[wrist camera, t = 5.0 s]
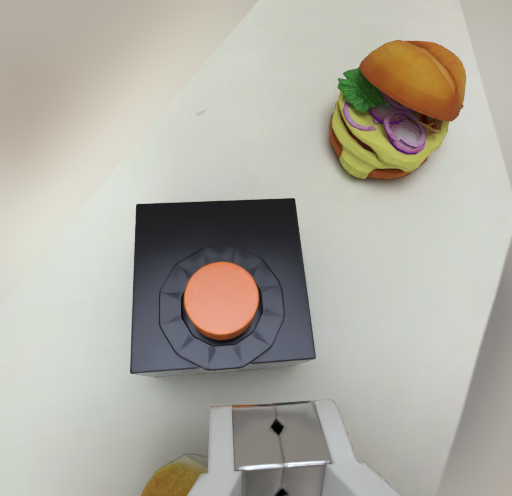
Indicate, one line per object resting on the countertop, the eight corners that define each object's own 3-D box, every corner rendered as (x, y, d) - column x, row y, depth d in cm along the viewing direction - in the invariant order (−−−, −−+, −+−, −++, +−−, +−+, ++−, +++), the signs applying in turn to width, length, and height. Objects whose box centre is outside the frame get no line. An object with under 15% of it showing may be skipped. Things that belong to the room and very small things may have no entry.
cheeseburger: (296, 147, 34) (340, 38, 25) (348, 100, 39) (397, -1, 31) (392, 211, 32) (471, 115, 24) (431, 152, 38) (507, 58, 29)
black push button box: (294, 369, 27) (325, 361, 19) (154, 381, 26) (120, 378, 18) (280, 239, 31) (300, 183, 22) (156, 245, 30) (128, 189, 21)
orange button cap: (258, 337, 19) (262, 332, 17) (188, 342, 19) (184, 337, 17) (253, 271, 20) (256, 259, 18) (187, 274, 20) (183, 263, 18)
